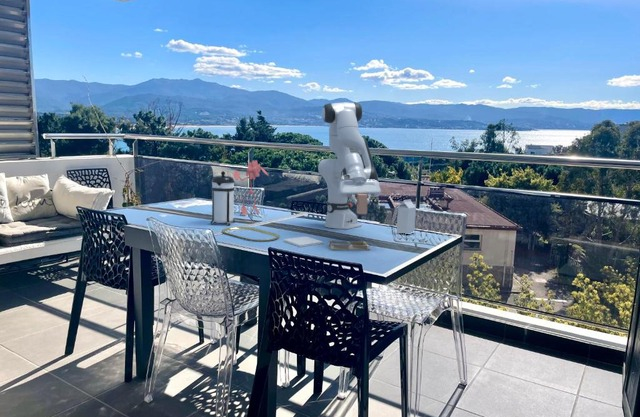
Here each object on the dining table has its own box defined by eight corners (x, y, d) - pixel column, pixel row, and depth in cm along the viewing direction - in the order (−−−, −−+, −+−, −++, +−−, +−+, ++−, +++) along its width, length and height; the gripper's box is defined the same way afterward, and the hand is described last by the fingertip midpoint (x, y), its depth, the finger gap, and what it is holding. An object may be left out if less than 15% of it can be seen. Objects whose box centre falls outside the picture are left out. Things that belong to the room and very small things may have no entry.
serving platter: (258, 244, 237) (258, 241, 237) (215, 232, 260) (215, 229, 260) (286, 239, 251) (286, 236, 250) (243, 228, 274) (243, 225, 274)
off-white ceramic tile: (305, 238, 252) (305, 236, 252) (323, 243, 241) (323, 241, 241) (283, 241, 243) (283, 239, 243) (300, 247, 232) (300, 245, 232)
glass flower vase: (229, 215, 308) (230, 159, 302) (259, 211, 327) (261, 159, 321) (245, 219, 298) (247, 162, 292) (276, 215, 318) (278, 161, 312)
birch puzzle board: (328, 245, 238) (328, 238, 237) (364, 245, 241) (364, 238, 240) (331, 250, 229) (331, 243, 228) (369, 250, 232) (369, 242, 231)
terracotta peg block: (356, 212, 235) (356, 194, 233) (364, 212, 235) (365, 193, 234) (358, 214, 231) (359, 195, 229) (367, 213, 231) (367, 194, 230)
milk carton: (414, 233, 274) (416, 200, 271) (407, 235, 269) (409, 201, 266) (403, 231, 279) (405, 198, 276) (396, 233, 273) (398, 199, 270)
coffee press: (242, 224, 281) (242, 172, 277) (215, 226, 272) (215, 172, 268) (229, 219, 295) (229, 169, 291) (203, 221, 286) (203, 170, 282)
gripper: (376, 183, 244) (382, 206, 236) (336, 184, 240) (340, 207, 232) (379, 175, 239) (385, 198, 231) (338, 176, 235) (342, 199, 227)
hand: (362, 203), depth 231 cm, fingers closed on terracotta peg block, 4 cm apart
